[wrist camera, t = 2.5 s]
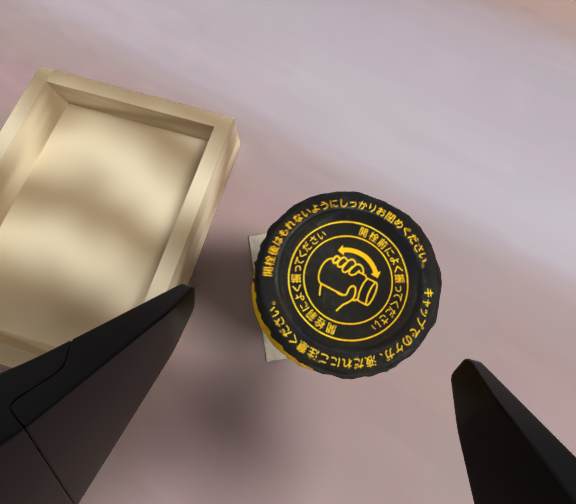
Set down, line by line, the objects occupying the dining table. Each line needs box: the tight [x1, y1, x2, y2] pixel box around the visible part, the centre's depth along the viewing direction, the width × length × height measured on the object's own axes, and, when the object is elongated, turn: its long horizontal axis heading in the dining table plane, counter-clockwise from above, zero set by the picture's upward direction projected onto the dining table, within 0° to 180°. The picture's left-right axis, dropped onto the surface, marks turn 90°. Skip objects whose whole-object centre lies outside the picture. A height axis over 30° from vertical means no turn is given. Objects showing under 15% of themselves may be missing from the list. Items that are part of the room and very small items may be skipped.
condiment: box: [249, 192, 442, 379], centre depth 14 cm, size 7×8×12 cm
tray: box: [0, 66, 240, 368], centre depth 19 cm, size 18×14×3 cm
